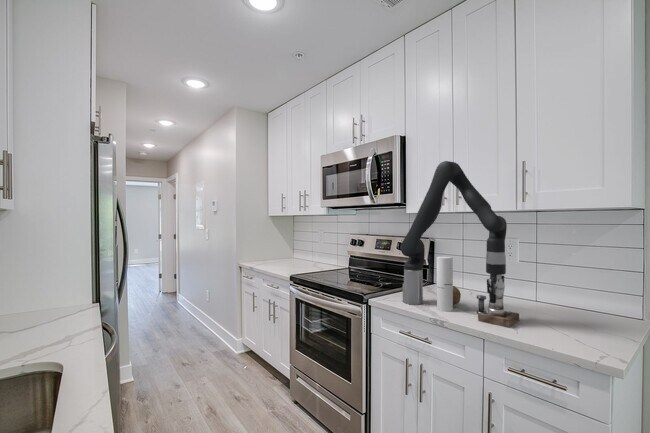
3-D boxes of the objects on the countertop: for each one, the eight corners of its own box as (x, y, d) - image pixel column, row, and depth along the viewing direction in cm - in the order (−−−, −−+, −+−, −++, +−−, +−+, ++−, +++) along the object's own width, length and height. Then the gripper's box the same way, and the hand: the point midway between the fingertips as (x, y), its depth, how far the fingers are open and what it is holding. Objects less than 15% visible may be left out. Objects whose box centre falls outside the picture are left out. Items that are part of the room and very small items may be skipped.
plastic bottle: (497, 322, 136) (498, 275, 134) (484, 317, 142) (484, 272, 141) (508, 320, 138) (508, 273, 137) (494, 314, 144) (494, 270, 143)
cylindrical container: (454, 311, 152) (453, 258, 152) (438, 311, 153) (437, 257, 153) (451, 307, 159) (451, 256, 159) (436, 307, 160) (435, 256, 160)
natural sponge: (444, 302, 169) (444, 282, 169) (462, 304, 164) (462, 284, 164) (439, 306, 162) (439, 286, 162) (458, 308, 157) (458, 288, 157)
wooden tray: (478, 320, 139) (478, 313, 139) (489, 314, 148) (489, 307, 148) (509, 327, 130) (509, 320, 130) (519, 320, 139) (519, 313, 139)
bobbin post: (475, 313, 149) (475, 296, 149) (478, 312, 151) (478, 294, 151) (484, 315, 146) (484, 297, 146) (487, 313, 149) (487, 296, 149)
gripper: (492, 259, 147) (492, 297, 147) (479, 263, 137) (480, 302, 137) (511, 261, 142) (511, 300, 142) (499, 265, 132) (499, 306, 132)
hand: (495, 301), depth 139 cm, fingers open, 6 cm apart
